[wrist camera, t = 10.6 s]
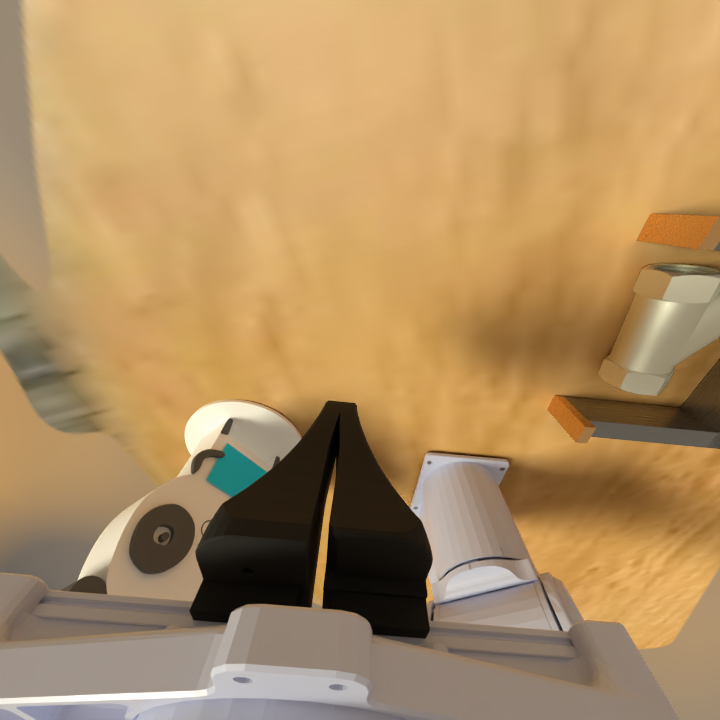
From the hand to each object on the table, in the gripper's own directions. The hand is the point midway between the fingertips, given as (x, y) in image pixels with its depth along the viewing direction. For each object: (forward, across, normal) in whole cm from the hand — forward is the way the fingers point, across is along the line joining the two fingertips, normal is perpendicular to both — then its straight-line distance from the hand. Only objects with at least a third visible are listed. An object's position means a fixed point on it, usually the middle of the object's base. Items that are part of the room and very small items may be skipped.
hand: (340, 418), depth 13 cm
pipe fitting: (+10, -22, -4) cm, 24 cm away
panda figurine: (+10, +9, +13) cm, 18 cm away
